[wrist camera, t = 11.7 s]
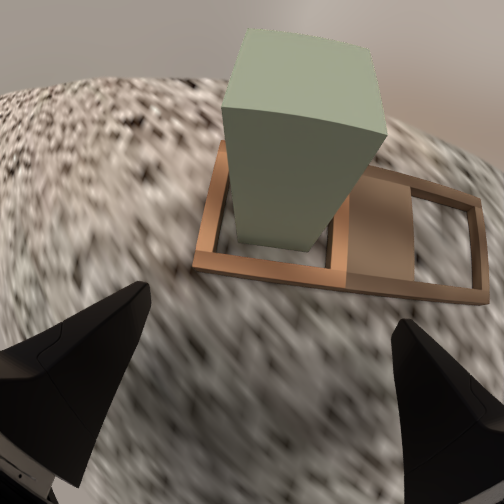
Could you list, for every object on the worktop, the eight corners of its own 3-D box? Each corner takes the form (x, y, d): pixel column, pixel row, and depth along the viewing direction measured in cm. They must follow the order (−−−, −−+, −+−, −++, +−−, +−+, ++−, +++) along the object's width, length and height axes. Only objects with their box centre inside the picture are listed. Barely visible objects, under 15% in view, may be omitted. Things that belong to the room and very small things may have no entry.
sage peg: (307, 252, 18) (387, 134, 7) (237, 242, 18) (221, 106, 7) (312, 190, 19) (369, 49, 8) (248, 181, 20) (247, 28, 8)
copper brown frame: (480, 305, 17) (491, 303, 16) (196, 271, 18) (192, 266, 16) (472, 203, 19) (481, 197, 18) (222, 151, 20) (220, 140, 19)
